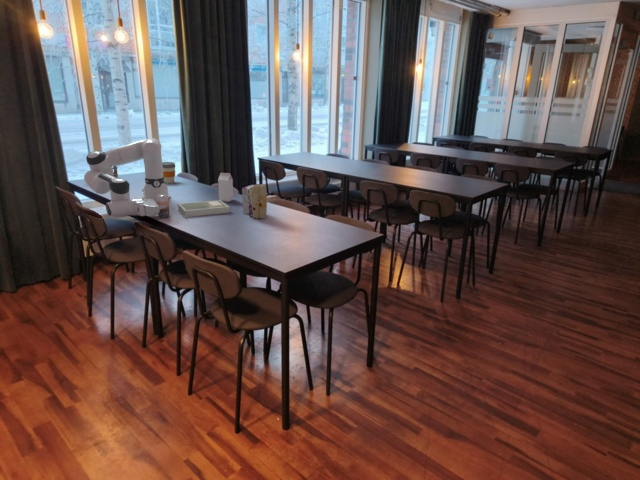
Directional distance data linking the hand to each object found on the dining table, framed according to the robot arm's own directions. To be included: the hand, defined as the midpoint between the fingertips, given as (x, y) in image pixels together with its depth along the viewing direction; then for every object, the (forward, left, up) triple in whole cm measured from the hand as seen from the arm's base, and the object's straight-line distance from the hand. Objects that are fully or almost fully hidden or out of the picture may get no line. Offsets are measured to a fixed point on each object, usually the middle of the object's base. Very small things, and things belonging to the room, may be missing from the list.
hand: (164, 204), depth 242 cm
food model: (+24, +48, -7) cm, 54 cm away
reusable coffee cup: (-98, +21, -7) cm, 101 cm away
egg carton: (0, +29, -6) cm, 30 cm away
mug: (-114, -22, -7) cm, 116 cm away
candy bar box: (+12, +47, -7) cm, 49 cm away
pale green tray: (0, +22, -7) cm, 23 cm away
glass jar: (0, -1, -7) cm, 7 cm away
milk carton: (-22, +43, -7) cm, 49 cm away
